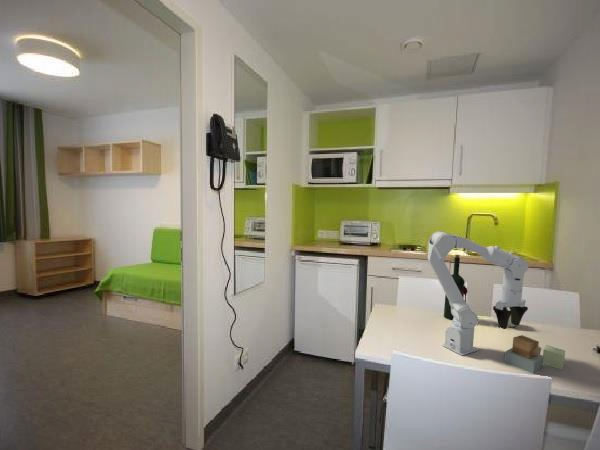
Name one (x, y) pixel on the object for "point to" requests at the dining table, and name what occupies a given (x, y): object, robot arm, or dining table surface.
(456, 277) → the wine bottle
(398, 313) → the dining table surface
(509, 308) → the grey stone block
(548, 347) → the sage cube
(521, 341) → the walnut cube
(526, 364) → the slate plinth
